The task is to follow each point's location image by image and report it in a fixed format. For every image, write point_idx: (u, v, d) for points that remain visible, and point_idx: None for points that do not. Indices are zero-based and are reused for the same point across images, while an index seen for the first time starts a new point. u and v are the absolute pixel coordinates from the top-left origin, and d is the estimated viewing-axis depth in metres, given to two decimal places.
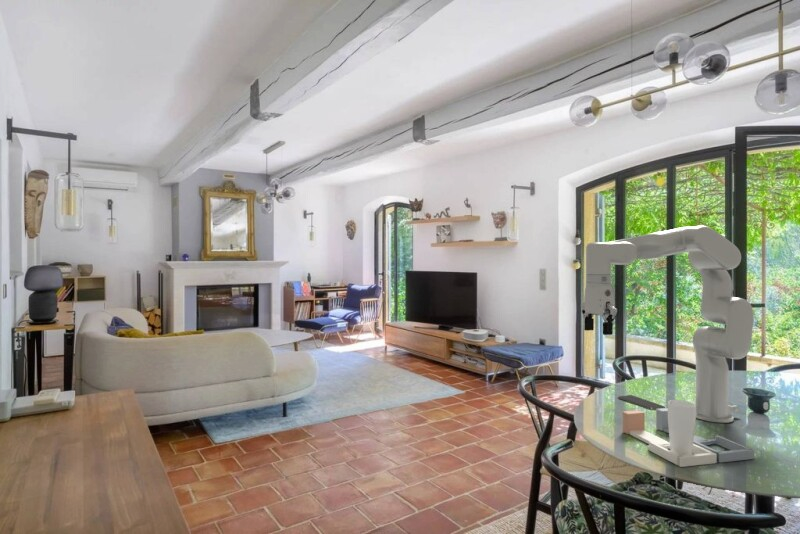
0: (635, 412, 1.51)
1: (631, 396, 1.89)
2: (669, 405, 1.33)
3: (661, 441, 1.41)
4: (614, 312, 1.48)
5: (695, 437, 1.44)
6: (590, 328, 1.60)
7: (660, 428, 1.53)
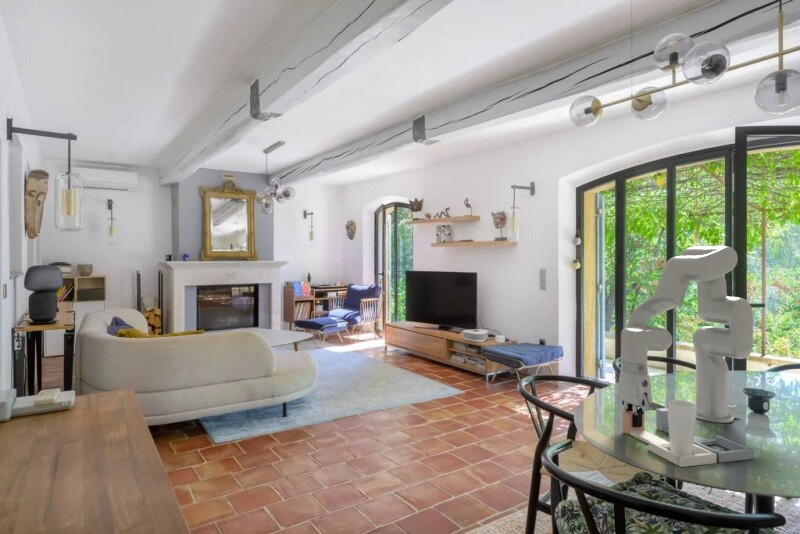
0: None
1: None
2: (669, 405, 1.33)
3: (661, 441, 1.41)
4: (646, 410, 1.46)
5: (695, 437, 1.44)
6: None
7: (660, 428, 1.53)
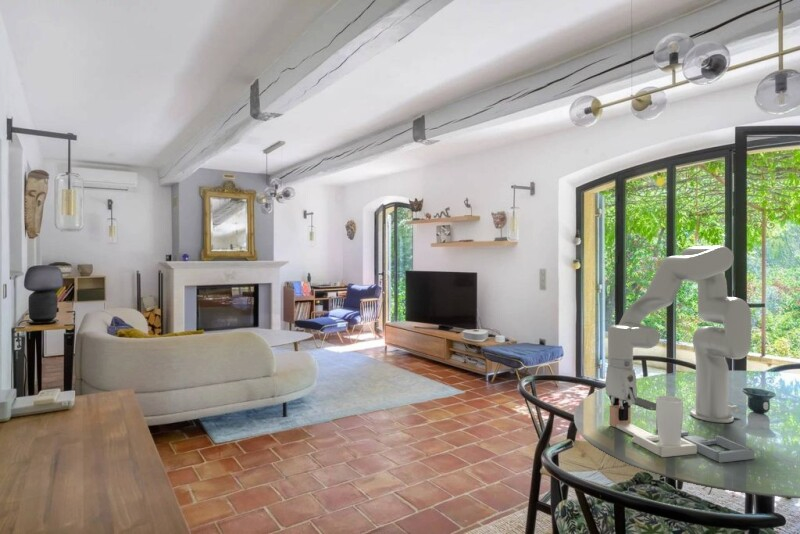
0: None
1: None
2: (657, 400, 1.37)
3: (645, 433, 1.47)
4: (631, 404, 1.52)
5: (695, 437, 1.44)
6: None
7: None
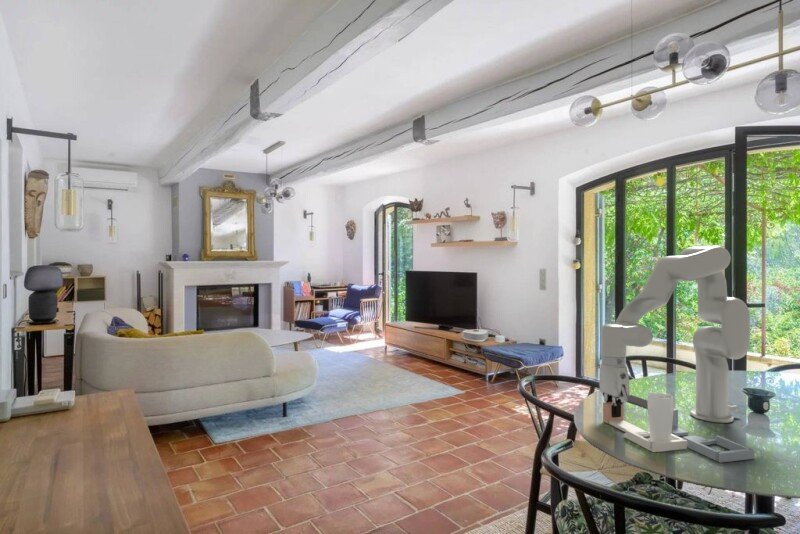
0: None
1: (631, 396, 1.89)
2: (648, 397, 1.40)
3: (637, 429, 1.50)
4: (624, 401, 1.55)
5: (695, 437, 1.44)
6: None
7: None
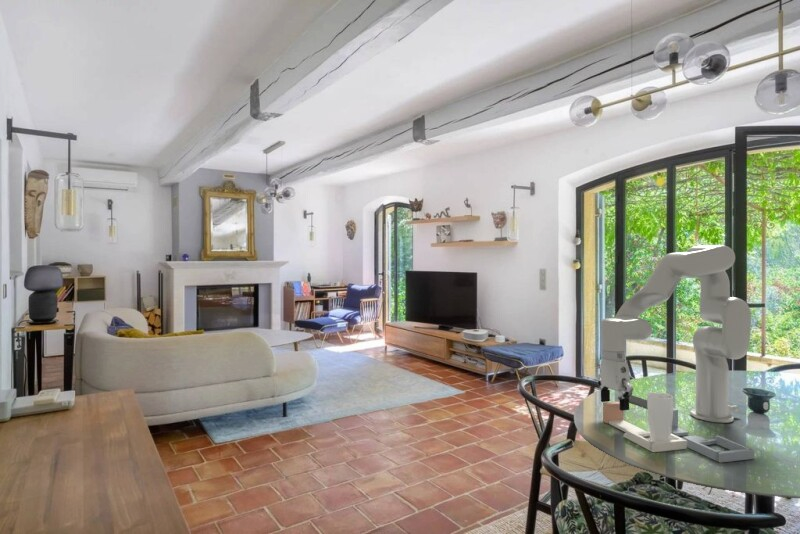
0: (614, 403, 1.61)
1: (631, 396, 1.89)
2: (648, 397, 1.41)
3: (637, 429, 1.51)
4: (630, 390, 1.53)
5: (695, 437, 1.44)
6: (606, 399, 1.66)
7: None
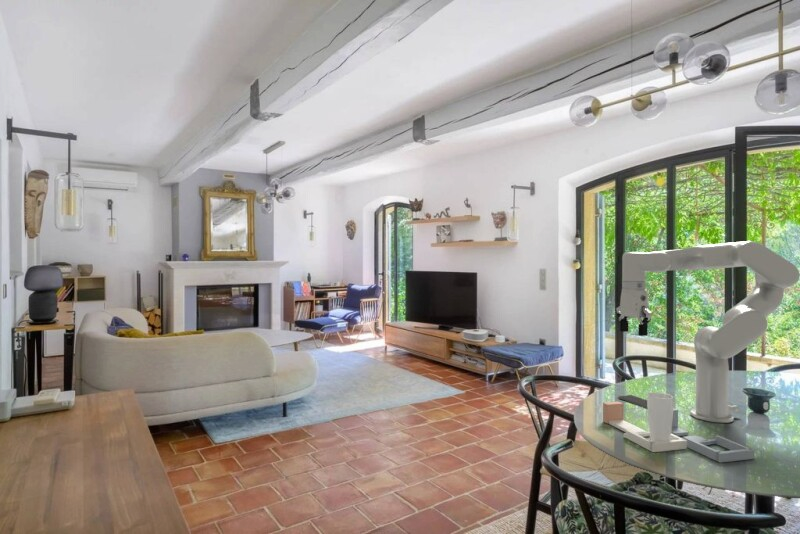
0: (614, 403, 1.61)
1: (631, 396, 1.89)
2: (648, 397, 1.41)
3: (637, 429, 1.51)
4: (649, 315, 1.64)
5: (695, 437, 1.44)
6: (625, 329, 1.77)
7: None
